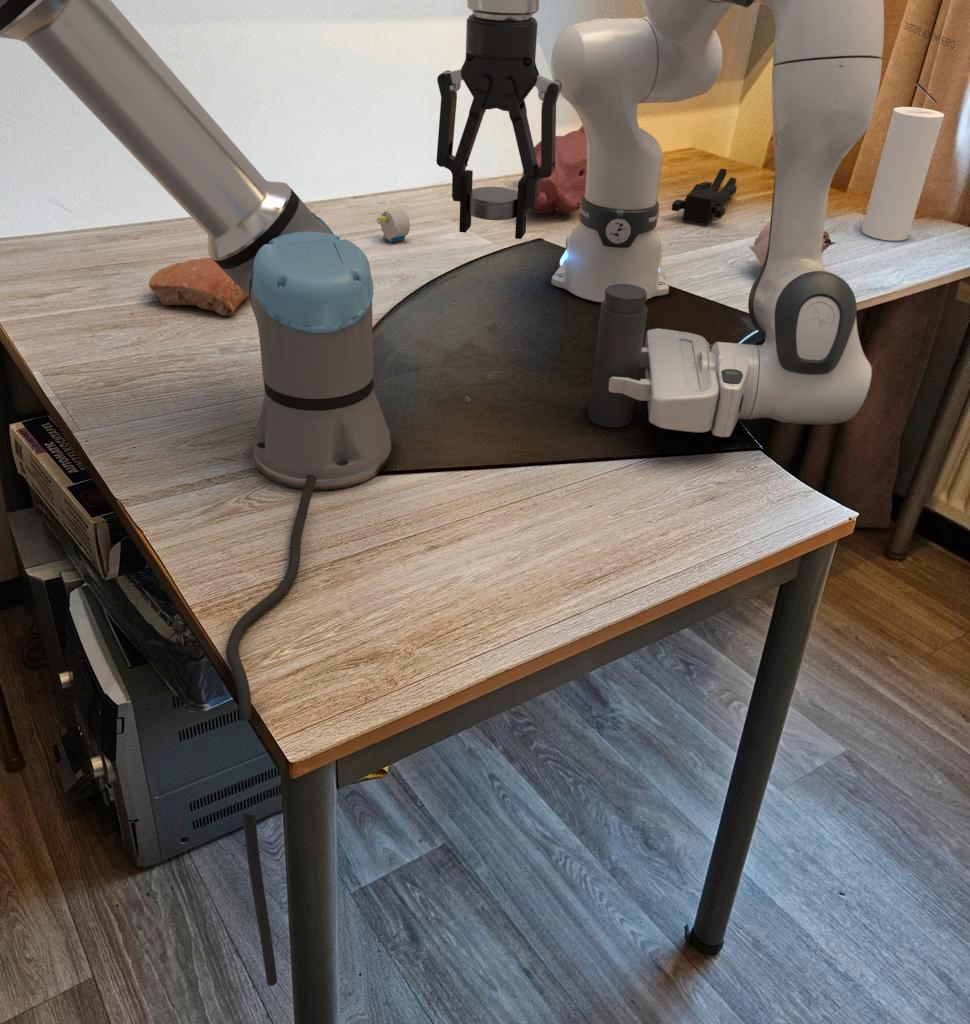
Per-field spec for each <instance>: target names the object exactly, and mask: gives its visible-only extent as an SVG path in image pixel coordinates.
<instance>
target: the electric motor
mask: <svg viewBox="0 0 970 1024" xmlns="http://www.w3.org/2000/svg"><path fill="white" fill-rule="evenodd" d="M376 222H377V224H378V225H380V227H381V231H382V233H383V238H384V240H385V241H388V242H389V243H394V242H395V243H396V242H399V241H404V240H405V238H406V236H407V235H409V233H410V229H411V222H410V218H409V216H408V213H407V212H406V210H404V209H403V208H397V209H392V210H387V211H384V212H383V213H382V214H381V216H378V217H377V218H376Z"/></svg>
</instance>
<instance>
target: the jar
mask: <svg viewBox="0 0 970 1024" xmlns="http://www.w3.org/2000/svg"><path fill="white" fill-rule="evenodd" d="M647 301H648V299H647V292H646V290H644V289H643V288H641V287H639V286H635V285H630V284H614V285H610V286H608V287H607V288H606V289H605V301H603V302H601V304H600V310H599V319H598V327H597V328H598V329H597V337H596V343H595V355H594V363H593V372H592V379H591V380H592V381H591V390H590V396H589V397H590V399H589V407H588V419H589V420H590V421H591V422H592V423H593V424H595V425H597V426H599V427H604V428H610V429H617V428H624V427H626V426H629V425H630V424H631V422H632V421H633V414H634V409H635V408H634V407H635V400H636V399H634V398H632V397H629V396H627V395H625V394H623V393H613V392H610V391H609V390H608V382H609V376H610V375H611V374H612V373H614V374H625V377H627V378H630V379H634V380H638V379H639V372H640V367H639V366H640V359H641V352H642V347H643V345H644V344H643V343H644V338H645V332H646V331H645V330H646V323H647V316H648V306H647V305H646V303H647ZM638 381H639V380H638Z"/></svg>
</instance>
